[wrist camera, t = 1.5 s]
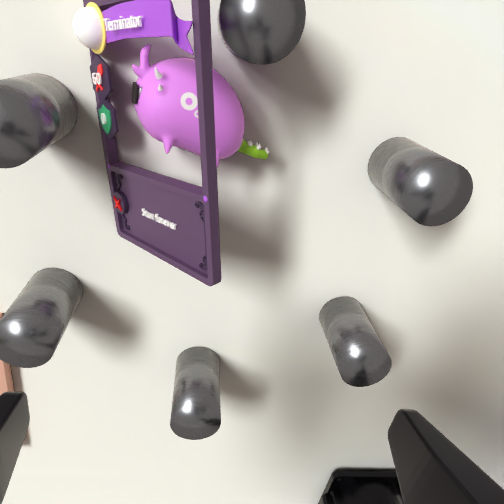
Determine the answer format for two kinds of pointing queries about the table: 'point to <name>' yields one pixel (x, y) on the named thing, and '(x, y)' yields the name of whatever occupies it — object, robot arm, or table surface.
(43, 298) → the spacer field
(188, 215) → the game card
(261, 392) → the table surface
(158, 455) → the table surface
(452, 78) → the table surface
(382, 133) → the table surface
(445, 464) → the robot arm
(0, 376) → the mat
